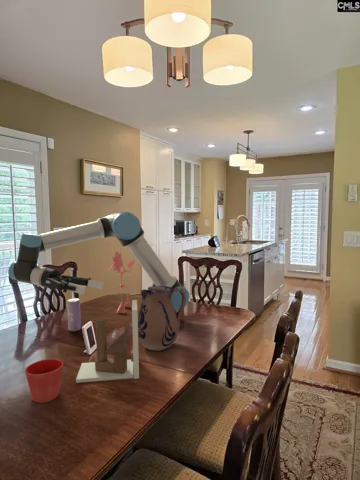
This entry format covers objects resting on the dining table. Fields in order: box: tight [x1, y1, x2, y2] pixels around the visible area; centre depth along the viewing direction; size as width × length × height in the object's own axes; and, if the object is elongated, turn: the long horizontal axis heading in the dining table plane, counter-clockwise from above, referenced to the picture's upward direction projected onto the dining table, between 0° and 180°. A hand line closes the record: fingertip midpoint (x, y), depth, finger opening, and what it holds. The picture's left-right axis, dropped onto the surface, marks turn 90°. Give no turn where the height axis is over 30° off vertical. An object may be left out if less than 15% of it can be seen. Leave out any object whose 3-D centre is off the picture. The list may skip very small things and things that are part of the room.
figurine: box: [105, 251, 135, 314], centre depth 188 cm, size 15×26×35 cm, turn 164°
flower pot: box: [24, 358, 64, 404], centre depth 100 cm, size 11×11×10 cm
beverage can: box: [66, 297, 82, 332], centre depth 158 cm, size 6×6×15 cm
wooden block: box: [94, 318, 128, 374], centre depth 113 cm, size 4×11×18 cm, turn 79°
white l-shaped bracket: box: [75, 299, 140, 384], centre depth 114 cm, size 21×13×24 cm, turn 98°
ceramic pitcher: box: [138, 285, 186, 352], centre depth 136 cm, size 18×21×25 cm
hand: (94, 288), depth 120 cm, fingers open, 13 cm apart
